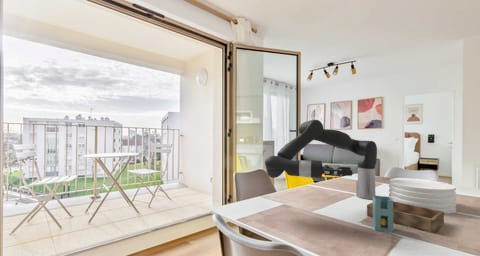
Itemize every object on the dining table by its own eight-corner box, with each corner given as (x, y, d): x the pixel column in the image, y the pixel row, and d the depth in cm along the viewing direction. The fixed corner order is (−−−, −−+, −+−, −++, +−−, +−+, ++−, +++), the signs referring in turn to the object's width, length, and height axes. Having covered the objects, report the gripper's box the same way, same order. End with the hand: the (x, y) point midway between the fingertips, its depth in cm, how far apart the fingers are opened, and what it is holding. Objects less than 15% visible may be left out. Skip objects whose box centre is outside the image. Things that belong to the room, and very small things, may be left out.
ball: (376, 225, 93) (376, 217, 94) (380, 224, 95) (379, 216, 96) (385, 227, 91) (385, 219, 91) (388, 226, 93) (388, 218, 93)
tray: (367, 215, 107) (367, 204, 107) (381, 208, 117) (380, 198, 117) (434, 233, 89) (433, 220, 89) (443, 223, 99) (443, 211, 99)
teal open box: (375, 230, 91) (375, 199, 92) (372, 224, 97) (372, 195, 97) (393, 232, 89) (393, 200, 90) (389, 226, 95) (389, 196, 95)
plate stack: (471, 215, 109) (471, 190, 109) (403, 211, 114) (403, 187, 115) (434, 199, 136) (434, 179, 136) (381, 196, 142) (381, 177, 142)
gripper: (309, 162, 97) (353, 164, 91) (311, 158, 110) (349, 160, 104) (309, 180, 97) (353, 183, 91) (311, 175, 110) (350, 177, 104)
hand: (351, 171), depth 98 cm, fingers open, 8 cm apart
